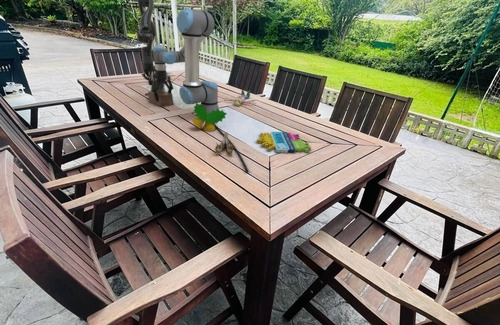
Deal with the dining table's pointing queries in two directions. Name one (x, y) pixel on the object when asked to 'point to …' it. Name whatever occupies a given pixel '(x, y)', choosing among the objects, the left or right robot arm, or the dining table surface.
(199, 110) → the ornament
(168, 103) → the cabinet
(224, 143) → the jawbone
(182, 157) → the dining table surface
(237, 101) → the toy
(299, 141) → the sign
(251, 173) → the dining table surface
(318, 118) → the dining table surface
